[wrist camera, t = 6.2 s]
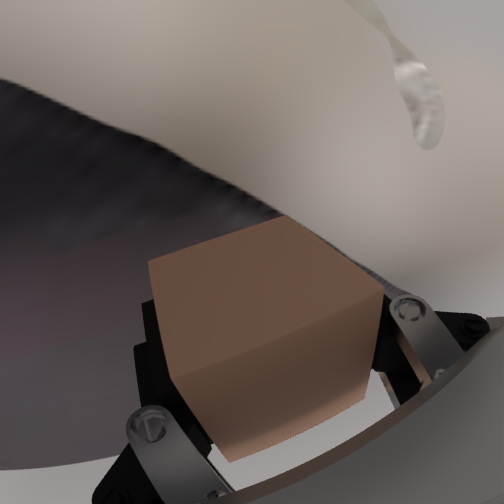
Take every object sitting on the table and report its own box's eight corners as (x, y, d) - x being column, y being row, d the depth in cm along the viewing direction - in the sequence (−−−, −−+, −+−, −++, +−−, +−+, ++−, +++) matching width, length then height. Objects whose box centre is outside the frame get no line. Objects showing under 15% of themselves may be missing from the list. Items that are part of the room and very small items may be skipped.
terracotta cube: (147, 261, 9) (170, 379, 5) (286, 215, 11) (384, 286, 6) (191, 360, 12) (229, 462, 8) (297, 318, 13) (364, 398, 9)
